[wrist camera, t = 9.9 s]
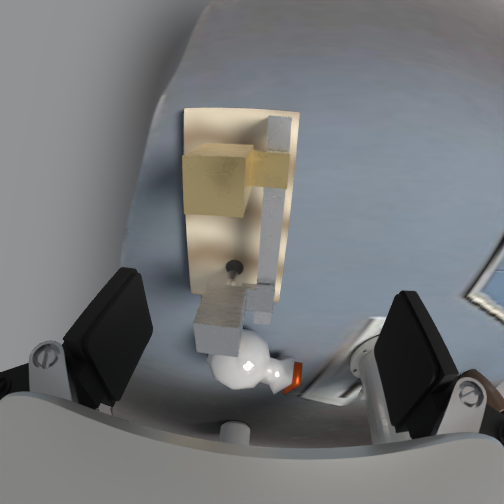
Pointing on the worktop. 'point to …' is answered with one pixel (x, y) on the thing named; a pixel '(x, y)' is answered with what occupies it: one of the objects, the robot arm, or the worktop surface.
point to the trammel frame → (229, 295)
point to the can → (234, 433)
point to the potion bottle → (255, 367)
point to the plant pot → (487, 390)
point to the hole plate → (247, 228)
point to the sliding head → (229, 177)
